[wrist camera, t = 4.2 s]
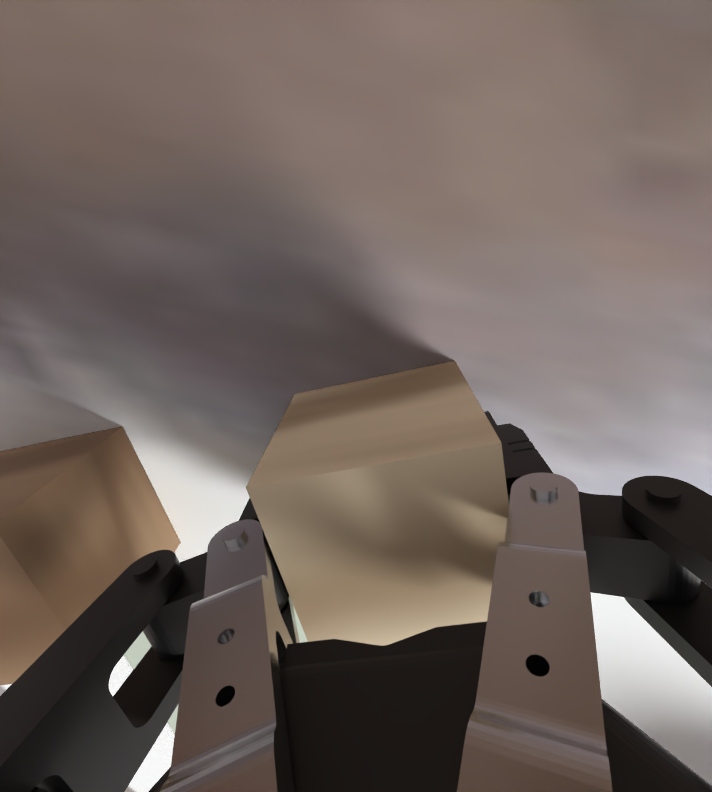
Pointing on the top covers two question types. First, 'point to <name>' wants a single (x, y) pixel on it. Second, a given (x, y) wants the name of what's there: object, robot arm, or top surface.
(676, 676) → the top surface
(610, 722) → the robot arm
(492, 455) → the maple block
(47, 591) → the walnut block
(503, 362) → the top surface
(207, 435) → the top surface
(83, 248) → the top surface
